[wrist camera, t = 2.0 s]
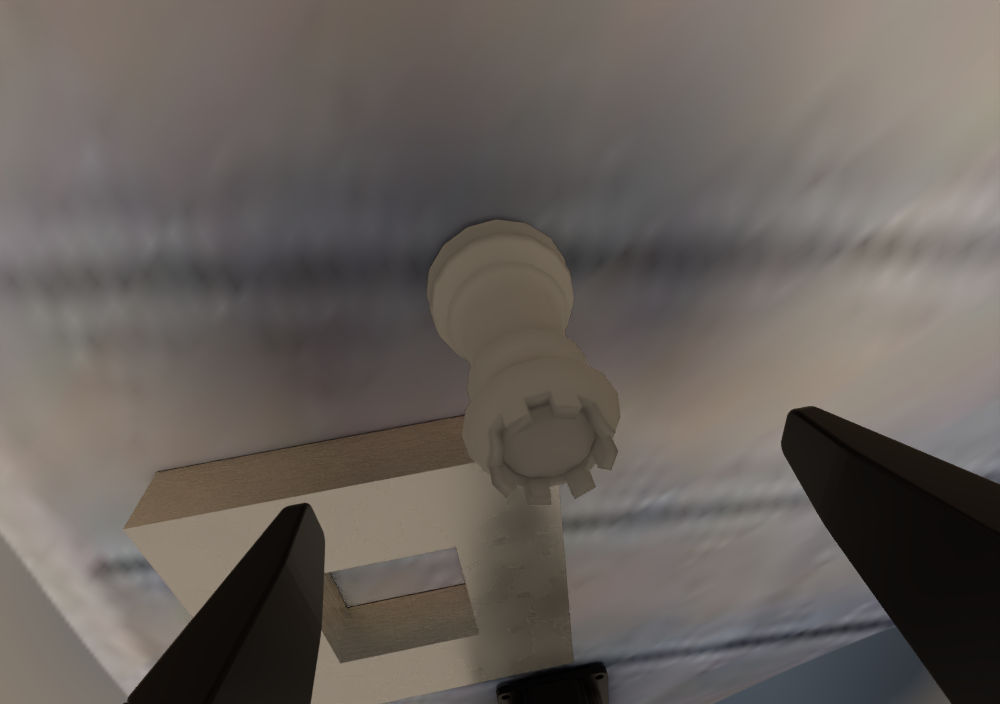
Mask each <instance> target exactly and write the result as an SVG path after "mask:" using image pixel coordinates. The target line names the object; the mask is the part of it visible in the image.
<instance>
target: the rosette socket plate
mask: <svg viewBox="0 0 1000 704" xmlns="http://www.w3.org/2000/svg"><path fill="white" fill-rule="evenodd" d="M464 418H465V415H464V416H459V417H453V418H448V419H443V420H437V421H432V422H426V423H421V424H416V425H410V426H405V427H399V428H394V429H389V430H383V431H378V432H372V433H367V434H362V435H356V436H351V437H345V438H340V439H335V440H329V441H324V442H318V443H313V444H308V445H302V446H297V447H291V448H286V449H281V450H275V451H270V452H264V453H259V454H254V455H248V456H243V457H237V458H232V459H227V460H221V461H216V462H210V463H205V464H200V465H194V466H189V467H183V468H178V469H173V470H167V471H162V472H156V474H155V476H154V477H153V479H152V481H151V483H150V484H149V486H148V488H147V489H146V491H145V493H144V494H143V496H142V498H141V499H140V501H139V503H138V505H137V506H136V508H135V510H134V511H133V513H132V515H131V516H130V518H129V520H128V521H127V523H126V525H125V526H124V528H123V530H124V532H125V533H126V534H127V535H128V537H129V538H130V539H131V540H132V542H133V543H134V544H135V545H136V547H137V548H138V549H139V550H140V552H141V553H142V554H143V555H144V557H145V558H146V559H147V560H148V562H149V563H150V564H151V565H152V567H153V568H154V569H155V570H156V572H157V573H158V574H159V575H160V577H161V578H162V579H163V580H164V582H165V583H166V584H167V585H168V587H169V588H170V589H171V590H172V592H173V593H174V594H175V595H176V597H177V598H178V599H179V600H180V602H181V603H182V604H183V606H184V607H185V608H186V609H187V611H188V612H189V613H190V614H191V616H192V617H194V616H195V615H196V614H197V613H198V611H199V610H200V609H201V608H202V606H203V605H204V604H205V603H206V602H207V600H208V599H209V598H210V597H211V595H212V594H213V593H214V592H215V591H216V589H217V588H218V587H219V586H220V585H221V583H222V582H223V581H224V580H225V578H226V577H227V576H228V575H229V574H230V572H231V571H232V570H233V569H234V567H235V566H236V565H237V564H238V563H239V561H240V560H241V559H242V558H243V556H244V555H245V554H246V553H247V552H248V550H249V549H250V548H251V547H252V545H253V544H254V543H255V542H256V541H257V539H258V538H259V537H260V536H261V535H262V533H263V532H264V531H265V530H266V528H267V527H268V526H269V525H270V524H271V522H272V521H273V520H274V519H275V517H276V516H277V515H278V514H279V513H280V511H281V510H282V509H283V508H285V507H286V506H289V505H295V504H300V503H309V504H310V505H311V507H312V508H313V510H314V513H315V515H316V517H317V519H318V521H319V523H320V525H321V527H322V530H323V532H324V536H325V565H324V592H323V616H322V630H321V638H320V645H319V652H318V659H317V665H316V672H315V679H314V685H313V692H312V699H311V704H381V703H386V702H391V701H395V700H400V699H405V698H409V697H414V696H419V695H423V694H428V693H433V692H437V691H442V690H447V689H451V688H456V687H461V686H466V685H470V684H475V683H480V682H484V681H489V680H494V679H498V678H503V677H508V676H512V675H517V674H522V673H527V672H531V671H536V670H541V669H545V668H550V667H555V666H559V665H564V664H569V663H573V662H574V660H573V648H572V636H571V625H570V613H569V601H568V589H567V578H566V566H565V554H564V543H563V531H562V519H561V508H560V496H559V485H556V486H553V487H549V488H550V492H551V505H527V501H526V497H525V493H524V489H523V487H520V486H517V485H516V487H517V490H515V491H514V492H513V493H512V494H511V495H509V496H508V497H507V498H506V497H505V496H504V495H503V494H502V493H501V492H500V491H499V490H498V489H496V488H495V487H494V486H493V485H492V481H491V475H490V474H488V473H487V472H485V471H484V470H483V469H482V468H481V467H480V466H479V465H478V464H477V463H476V462H475V461H474V460H472V459H471V458H470V457H469V454H468V451H467V448H466V445H465V442H464V440H463V437H462V429H463V424H464ZM454 547H456V549H457V552H458V556H459V560H460V564H461V567H462V571H463V575H464V579H465V583H466V584H463V585H458V586H453V587H449V588H444V589H439V590H434V591H429V592H424V593H419V594H414V595H409V596H404V597H399V598H394V599H389V600H384V601H379V602H375V603H370V604H365V605H360V606H355V607H350V608H347V607H346V605H345V603H344V601H343V599H342V597H341V595H340V593H339V591H338V589H337V587H336V585H335V583H334V581H333V579H332V577H331V575H330V573H329V572H333V571H338V570H343V569H348V568H353V567H358V566H363V565H368V564H373V563H378V562H383V561H388V560H393V559H398V558H403V557H408V556H413V555H418V554H423V553H428V552H433V551H438V550H444V549H449V548H454Z"/></svg>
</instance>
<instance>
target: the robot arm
mask: <svg viewBox="0 0 1000 704" xmlns="http://www.w3.org/2000/svg"><path fill="white" fill-rule="evenodd" d="M781 447H782V451H783V453H784V456H785V457H786V459H787V461H788V463H789V464H790V466H791V468H792V470H793V471H794V473H795V475H796V477H797V478H798V480H799V482H800V484H801V486H802V487H803V489H804V491H805V493H806V494H807V496H808V498H809V500H810V501H811V503H812V505H813V507H814V508H815V510H816V512H817V514H818V515H819V517H820V518H821V520H822V522H823V523H824V525H825V526H826V528H827V529H828V531H829V532H830V534H831V535H832V537H833V538H834V540H835V541H836V542H837V544H838V545H839V547H840V548H841V549H842V551H843V552H844V554H845V555H846V556H847V558H848V559H849V561H850V562H851V564H852V565H853V566H854V568H855V569H856V571H857V572H858V573H859V575H860V576H861V578H862V579H863V580H864V582H865V583H866V585H867V586H868V587H869V589H870V590H871V592H872V593H873V594H874V596H875V597H876V599H877V600H878V601H879V603H880V604H881V606H882V607H883V608H884V610H885V611H886V613H887V614H888V615H889V617H890V618H891V620H892V621H893V623H894V624H895V625H896V627H897V628H898V630H899V631H900V632H901V634H902V635H903V636H904V638H905V639H906V641H907V642H908V644H909V645H910V646H911V648H912V649H913V651H914V652H915V653H916V655H917V656H918V658H919V659H920V660H921V662H922V663H923V665H924V666H925V667H926V669H927V670H928V672H929V673H930V674H931V676H932V677H933V679H934V680H935V681H936V683H937V684H938V686H939V687H940V689H941V690H942V691H943V693H944V694H945V696H946V697H947V698H948V700H949V701H950V703H951V704H1000V484H998V483H996V482H993V481H991V480H988V479H986V478H984V477H981V476H979V475H977V474H974V473H972V472H969V471H967V470H965V469H962V468H960V467H957V466H955V465H953V464H950V463H948V462H946V461H943V460H941V459H938V458H936V457H934V456H931V455H929V454H927V453H924V452H922V451H919V450H917V449H915V448H912V447H910V446H908V445H905V444H903V443H900V442H898V441H896V440H893V439H891V438H888V437H886V436H884V435H881V434H879V433H877V432H874V431H872V430H869V429H867V428H865V427H862V426H860V425H858V424H855V423H853V422H850V421H848V420H846V419H843V418H841V417H839V416H836V415H834V414H831V413H829V412H827V411H824V410H822V409H819V408H817V407H814V406H807V407H802V408H797V409H793V410H791V411H790V412H789V413H788V415H787V418H786V423H785V427H784V431H783V436H782V440H781ZM324 565H325V536H324V532H323V530H322V527H321V525H320V523H319V521H318V519H317V517H316V515H315V513H314V510H313V508H312V507H311V505H310V504H309V503H300V504H295V505H289V506H286V507H285V508H283V509H282V510H281V511H280V513H279V514H278V515H277V516H276V517H275V519H274V520H273V521H272V522H271V524H270V525H269V526H268V527H267V528H266V530H265V531H264V532H263V533H262V535H261V536H260V537H259V538H258V539H257V541H256V542H255V543H254V544H253V545H252V547H251V548H250V549H249V550H248V552H247V553H246V554H245V555H244V556H243V558H242V559H241V560H240V561H239V563H238V564H237V565H236V566H235V567H234V569H233V570H232V571H231V572H230V574H229V575H228V576H227V577H226V578H225V580H224V581H223V582H222V583H221V585H220V586H219V587H218V588H217V589H216V591H215V592H214V593H213V594H212V595H211V597H210V598H209V599H208V600H207V602H206V603H205V604H204V605H203V606H202V608H201V609H200V610H199V611H198V613H197V614H196V615H195V616H194V617H193V619H192V620H191V621H190V622H189V624H188V625H187V626H186V627H185V628H184V630H183V631H182V632H181V633H180V634H179V636H178V637H177V638H176V639H175V641H174V642H173V643H172V644H171V645H170V647H169V648H168V649H167V650H166V652H165V653H164V654H163V655H162V656H161V658H160V659H159V660H158V661H157V663H156V664H155V665H154V666H153V667H152V669H151V670H150V671H149V672H148V674H147V675H146V676H145V677H144V678H143V680H142V681H141V682H140V683H139V684H138V686H137V687H136V688H135V689H134V691H133V692H132V693H131V694H130V695H129V697H128V699H127V702H128V703H127V702H126V703H123V704H311V699H312V692H313V685H314V679H315V672H316V665H317V659H318V652H319V645H320V638H321V630H322V616H323V592H324ZM496 694H497V701H498V704H608V674H607V671H606V668H605V666H602V665H599V666H593V667H589V668H584V669H579V670H575V671H570V672H565V673H561V674H556V675H551V676H547V677H542V678H537V679H533V680H528V681H523V682H519V683H514V684H509V685H505V686H501V687H499V688H498V689H497V690H496Z"/></svg>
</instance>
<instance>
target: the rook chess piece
mask: <svg viewBox="0 0 1000 704" xmlns="http://www.w3.org/2000/svg"><path fill="white" fill-rule="evenodd" d="M426 296H427V299H428V302H429V305H430V307H429V309H430V312H431V315H432V318H433V321H434V324H435V327H436V330H437V333H438V334H439V336H440V337H441V338H442V339H443V340H444V341H445V342H446V343H447V345H448V346H449V347H450V348H451V349H452V350H453V351H454V352H455V353H456V354H457V355H458V356H460V357H462V358H464V359H465V360H466V361H468V362H469V363H470V366H471V368H470V373H469V379H468V385H467V392H468V395H469V398H470V401H471V403H470V404H469V405H468V407H467V408H466V412H465V418H464V424H463V429H462V437H463V440H464V442H465V445H466V448H467V451H468V454H469V457H470V458H471V459H472V460H474V461H475V462H476V463H477V464H478V465H479V466H480V467H481V468H482V469H483V470H484V471H485V472H487V473H488V474H490V475H491V481H492V485H493V486H494V487H495V488H496V489H498V490H499V491H500V492H501V493H502V494H503V495H504V496H505V497H506V498H507V497H508V496H509V495H511V494H512V493H513V492H514V491H515V490H517V487H516V485H517V486H520V487H523V489H524V493H525V497H526V501H527V505H551V492H550V488H549V487H553V486H556V485H560V484H564V483H568V485H569V488H570V491H571V493H572V495H573V496H574V498H575V499H576V498H577V497H579V496H581V495H582V494H584V493H586V492H588V491H589V490H591V489H593V488H595V487H596V486H595V484H594V481H593V479H592V476H591V474H590V471H589V470H590V469H591V468H592V467H593V465H594V464H595V463H596V464H597V466H598V468H602V469H607V470H611V469H612V466H613V463H614V461H615V458H616V456H617V453H618V450H617V448H616V446H615V444H614V442H613V439H612V438H613V436H614V433H615V430H616V427H617V425H618V422H619V419H620V410H619V401H618V393H617V392H616V390H615V389H614V388H613V386H612V385H611V384H610V382H609V381H608V380H607V378H606V377H605V375H604V374H603V373H602V372H600V371H598V370H596V369H594V368H592V367H590V366H588V365H587V361H586V357H585V356H584V354H583V353H582V352H581V350H580V349H579V348H578V346H577V345H576V344H575V342H574V341H572V340H570V339H568V338H566V335H565V329H566V328H567V326H568V322H569V318H570V315H571V311H572V307H573V303H574V295H573V288H572V282H571V276H570V271H569V269H568V268H567V267H566V264H565V259H564V258H563V256H562V255H561V253H560V252H559V250H558V249H557V247H556V246H555V244H554V243H553V241H552V240H551V238H550V237H548V236H546V235H545V234H543V233H541V232H540V231H538V230H536V229H535V228H533V227H531V226H530V225H528V224H526V223H521V222H513V221H505V220H498V219H496V220H492V221H489V222H485V223H481V224H477V225H474V226H470V227H467V228H466V229H464V230H463V231H462V232H460V233H459V234H458V235H456V236H455V237H454V238H452V239H451V240H450V241H448V242H447V243H446V244H444V245H443V247H442V249H441V250H440V252H439V254H438V255H437V257H436V259H435V261H434V262H433V264H432V266H431V267H430V269H429V276H428V286H427V295H426Z"/></svg>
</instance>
